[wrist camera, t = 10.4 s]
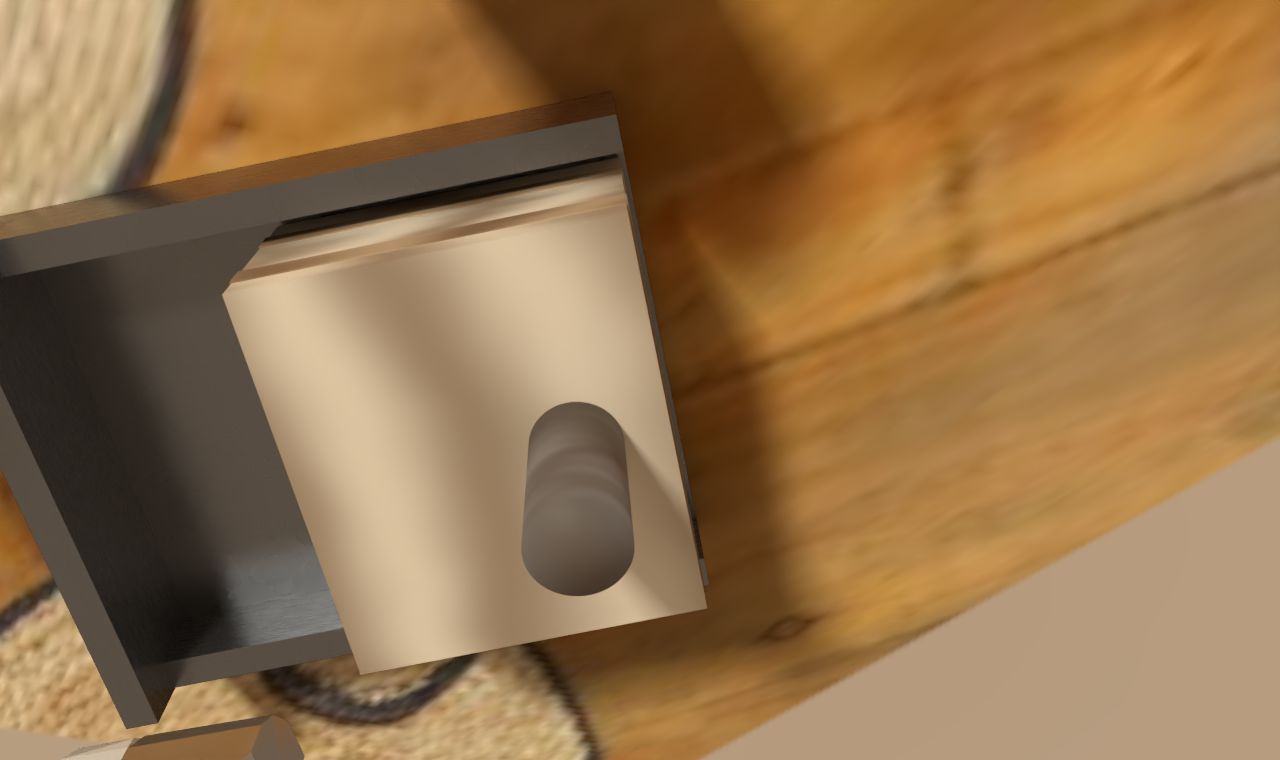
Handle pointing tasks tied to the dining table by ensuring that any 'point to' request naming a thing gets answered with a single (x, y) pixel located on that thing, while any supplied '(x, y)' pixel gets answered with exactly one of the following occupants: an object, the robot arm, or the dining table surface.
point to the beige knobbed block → (474, 415)
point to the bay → (204, 396)
